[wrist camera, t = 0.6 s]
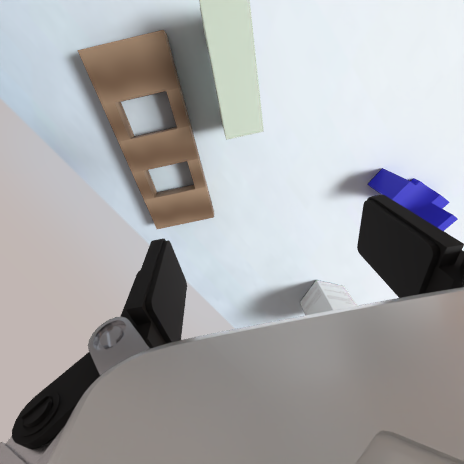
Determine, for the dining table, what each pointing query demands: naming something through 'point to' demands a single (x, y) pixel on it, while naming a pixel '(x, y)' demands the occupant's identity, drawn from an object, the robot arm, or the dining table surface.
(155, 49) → the brown wooden board
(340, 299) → the supplement box
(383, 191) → the cable clip
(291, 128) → the dining table surface
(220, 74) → the tall sage green block
